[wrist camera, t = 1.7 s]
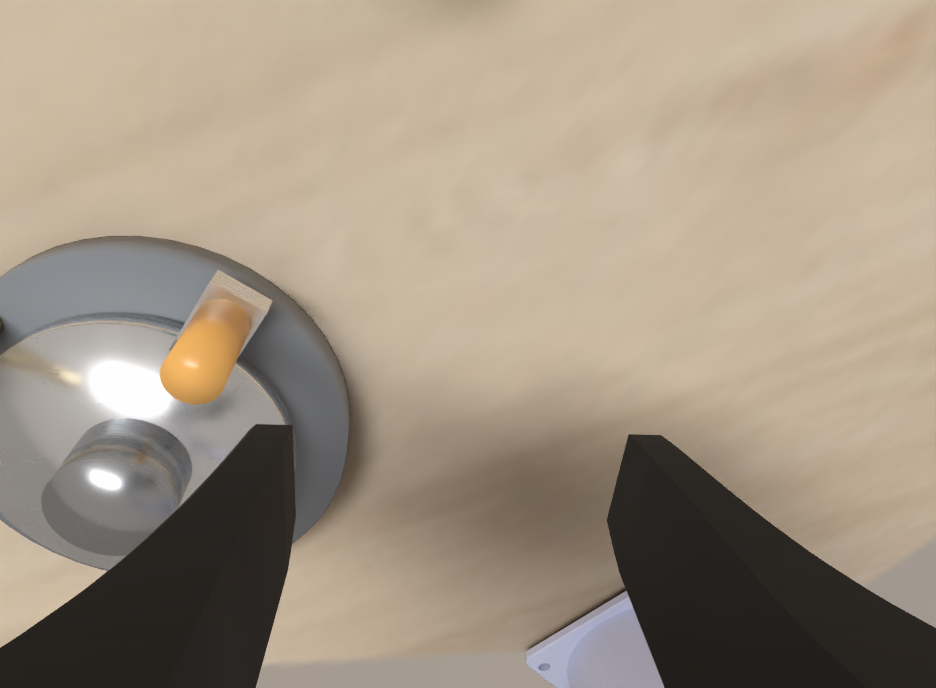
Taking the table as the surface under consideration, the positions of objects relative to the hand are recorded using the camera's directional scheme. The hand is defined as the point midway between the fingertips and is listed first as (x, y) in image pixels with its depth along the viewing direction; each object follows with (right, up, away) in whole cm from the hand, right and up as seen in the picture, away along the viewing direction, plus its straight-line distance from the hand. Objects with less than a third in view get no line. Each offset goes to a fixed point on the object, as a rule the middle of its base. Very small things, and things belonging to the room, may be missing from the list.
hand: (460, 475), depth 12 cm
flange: (-9, 0, +8) cm, 12 cm away
